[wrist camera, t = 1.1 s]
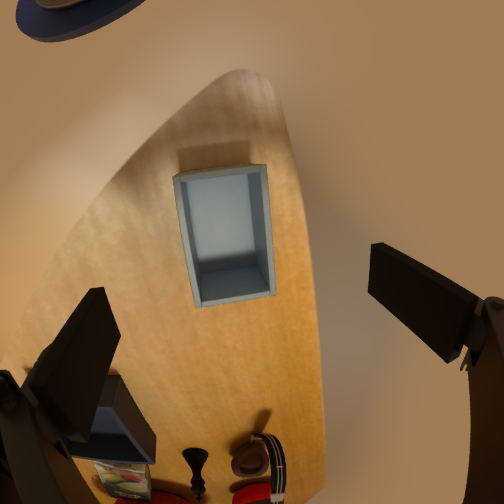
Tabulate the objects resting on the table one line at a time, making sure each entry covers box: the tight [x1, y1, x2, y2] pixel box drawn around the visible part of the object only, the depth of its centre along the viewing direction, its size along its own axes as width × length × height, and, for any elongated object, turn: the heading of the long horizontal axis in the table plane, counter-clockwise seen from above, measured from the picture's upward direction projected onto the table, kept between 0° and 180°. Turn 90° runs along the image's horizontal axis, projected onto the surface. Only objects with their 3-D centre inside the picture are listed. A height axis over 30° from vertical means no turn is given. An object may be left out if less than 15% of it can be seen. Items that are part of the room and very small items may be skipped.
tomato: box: [232, 483, 284, 504], centre depth 40 cm, size 11×13×10 cm
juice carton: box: [92, 460, 152, 503], centre depth 33 cm, size 20×10×6 cm, turn 167°
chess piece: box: [183, 448, 208, 502], centre depth 32 cm, size 4×4×10 cm
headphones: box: [231, 433, 286, 504], centre depth 31 cm, size 6×15×22 cm
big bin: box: [26, 375, 156, 464], centre depth 27 cm, size 15×17×6 cm
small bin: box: [172, 163, 276, 308], centre depth 22 cm, size 10×6×6 cm, turn 6°
